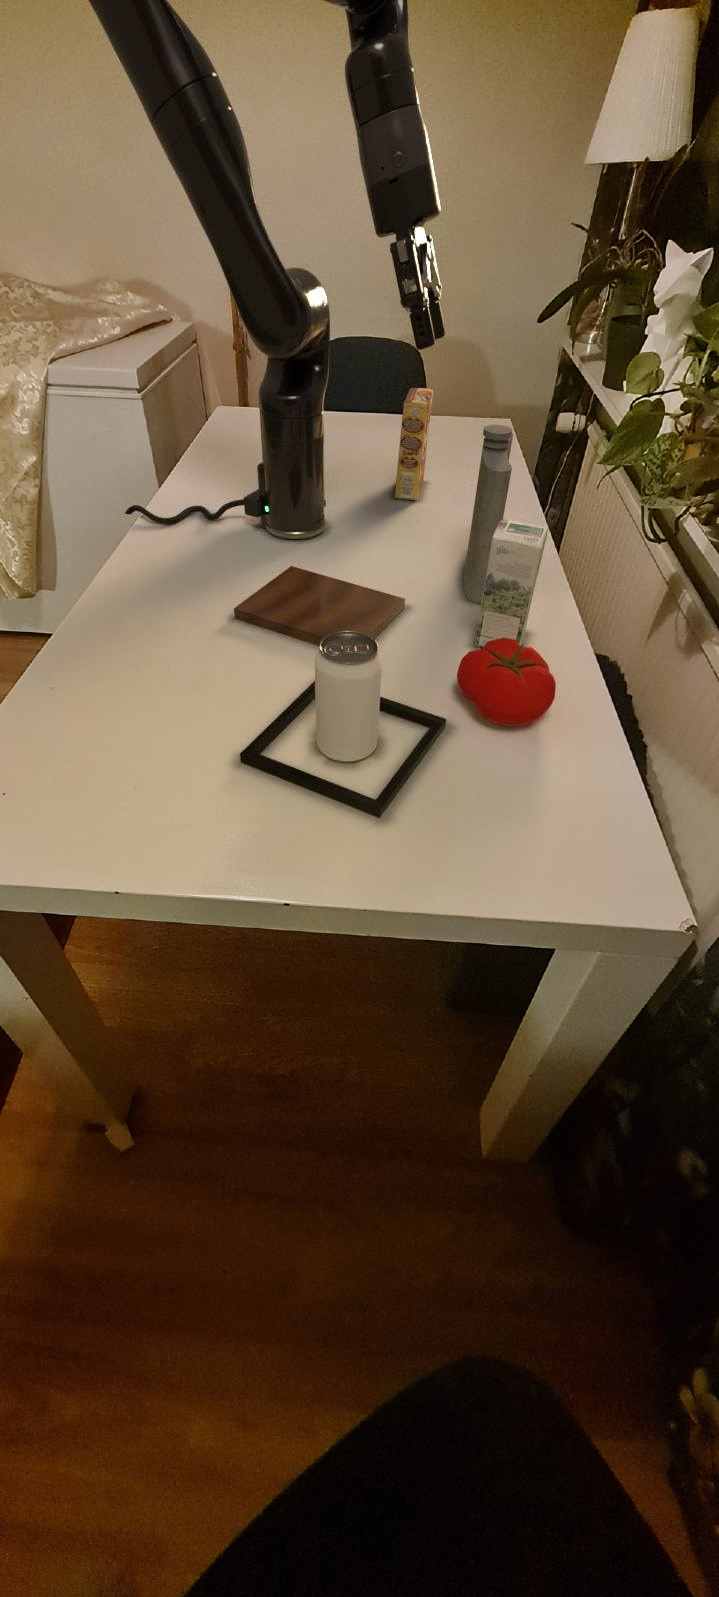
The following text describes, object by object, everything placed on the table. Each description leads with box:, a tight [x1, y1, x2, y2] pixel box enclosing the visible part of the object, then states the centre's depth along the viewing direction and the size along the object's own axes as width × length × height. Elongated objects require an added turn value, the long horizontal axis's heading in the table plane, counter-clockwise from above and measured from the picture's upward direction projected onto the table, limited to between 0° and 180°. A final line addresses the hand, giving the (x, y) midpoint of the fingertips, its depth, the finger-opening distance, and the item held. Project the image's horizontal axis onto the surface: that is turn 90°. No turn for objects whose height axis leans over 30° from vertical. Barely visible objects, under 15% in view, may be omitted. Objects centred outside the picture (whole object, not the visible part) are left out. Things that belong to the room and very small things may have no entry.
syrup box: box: [474, 518, 549, 648], centre depth 86 cm, size 6×6×14 cm
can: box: [314, 631, 383, 763], centre depth 71 cm, size 6×6×12 cm
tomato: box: [456, 638, 557, 727], centre depth 78 cm, size 10×11×6 cm
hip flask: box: [463, 424, 514, 604], centre depth 96 cm, size 16×4×20 cm, turn 170°
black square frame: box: [239, 680, 447, 819], centre depth 74 cm, size 16×16×1 cm
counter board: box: [233, 565, 406, 647], centre depth 94 cm, size 18×14×2 cm
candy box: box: [394, 387, 434, 501], centre depth 120 cm, size 9×4×15 cm, turn 169°
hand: (432, 342), depth 86 cm, fingers open, 8 cm apart
